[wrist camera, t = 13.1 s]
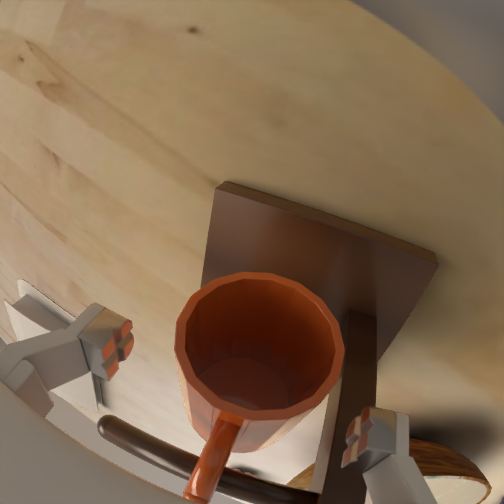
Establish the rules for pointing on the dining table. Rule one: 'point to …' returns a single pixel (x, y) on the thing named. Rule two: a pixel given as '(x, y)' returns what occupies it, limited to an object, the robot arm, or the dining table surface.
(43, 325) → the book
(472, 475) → the bowl
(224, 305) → the cup
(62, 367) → the robot arm
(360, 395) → the stand
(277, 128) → the dining table surface
